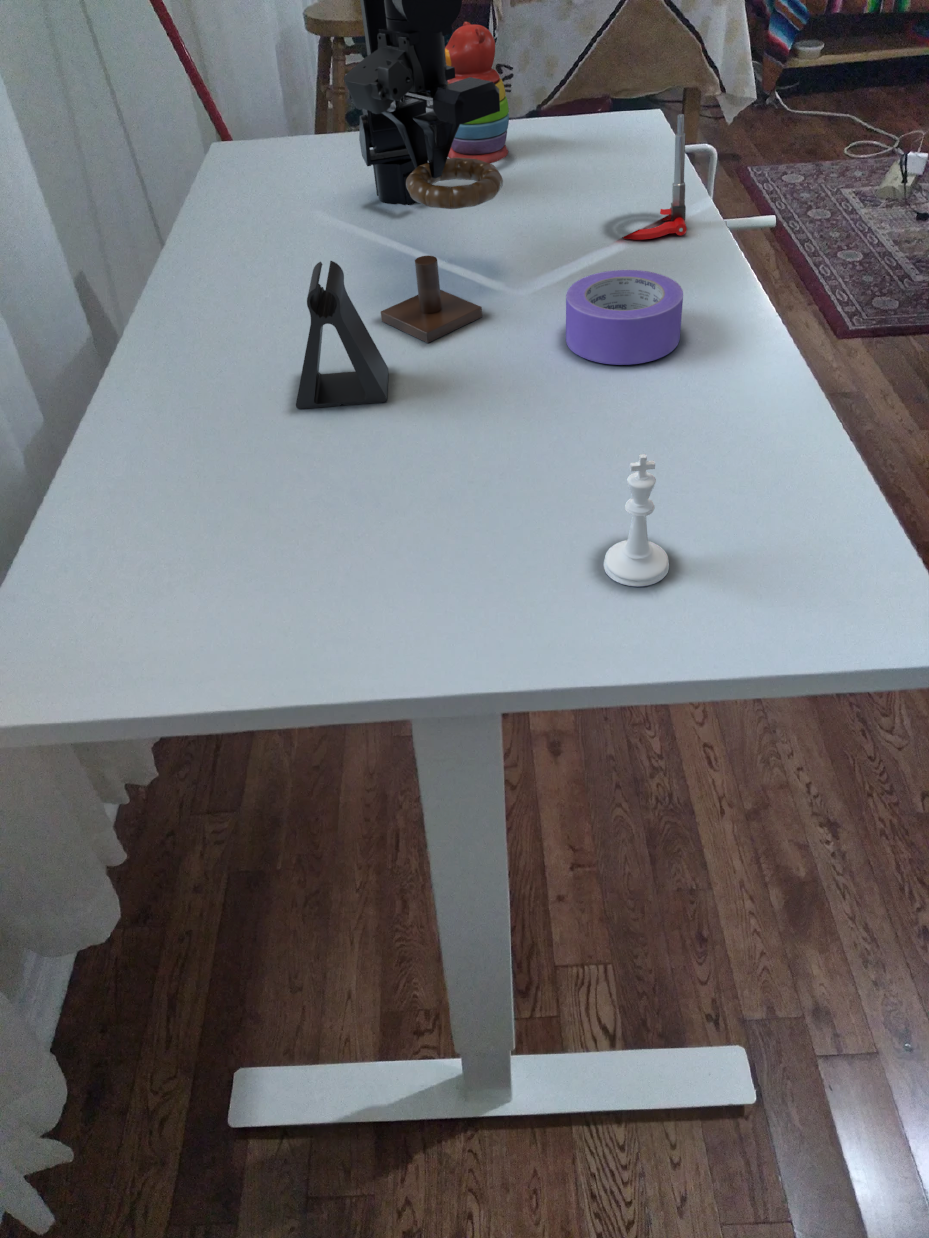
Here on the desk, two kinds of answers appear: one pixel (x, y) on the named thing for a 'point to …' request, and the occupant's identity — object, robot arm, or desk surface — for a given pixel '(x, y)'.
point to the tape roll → (623, 316)
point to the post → (430, 307)
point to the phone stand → (358, 344)
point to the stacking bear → (475, 59)
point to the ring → (455, 196)
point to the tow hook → (678, 196)
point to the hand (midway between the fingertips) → (429, 175)
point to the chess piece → (638, 535)
